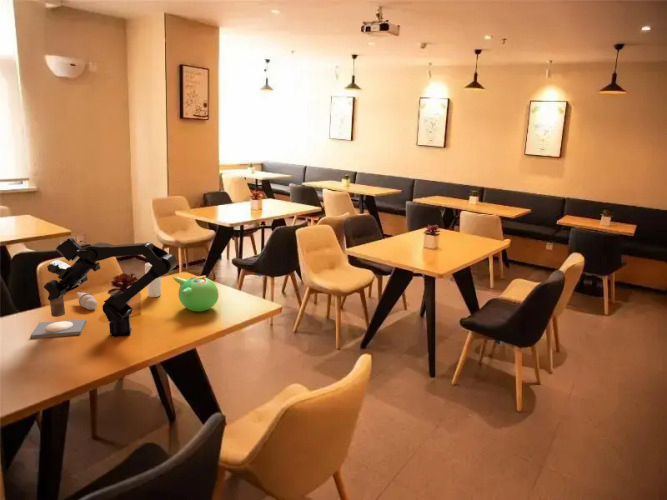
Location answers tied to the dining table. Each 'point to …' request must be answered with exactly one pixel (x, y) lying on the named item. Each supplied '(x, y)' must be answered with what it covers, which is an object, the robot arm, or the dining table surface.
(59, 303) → the pepper mill
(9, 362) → the dining table surface
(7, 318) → the dining table surface
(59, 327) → the serving board
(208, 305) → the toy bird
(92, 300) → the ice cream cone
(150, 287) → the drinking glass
